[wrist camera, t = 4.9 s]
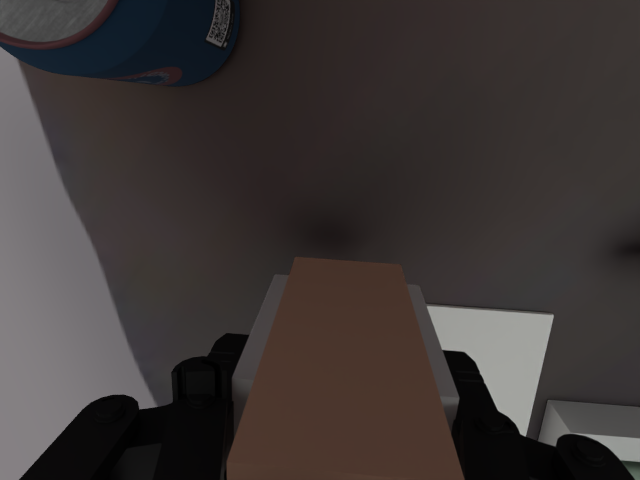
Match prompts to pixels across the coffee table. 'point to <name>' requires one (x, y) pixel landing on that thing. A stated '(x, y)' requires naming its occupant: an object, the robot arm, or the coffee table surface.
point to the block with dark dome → (344, 384)
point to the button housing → (594, 425)
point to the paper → (499, 351)
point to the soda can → (122, 37)
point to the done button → (633, 468)
